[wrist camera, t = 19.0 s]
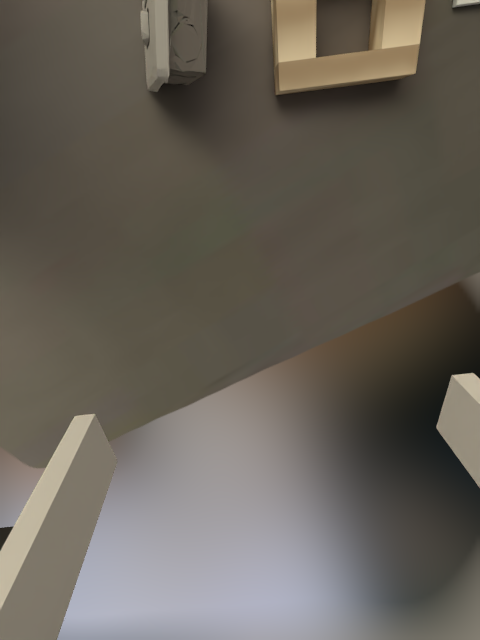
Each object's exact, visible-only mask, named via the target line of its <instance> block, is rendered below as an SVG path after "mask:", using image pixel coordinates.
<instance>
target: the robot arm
mask: <svg viewBox="0 0 480 640" xmlns="http://www.w3.org/2000/svg"><path fill="white" fill-rule="evenodd" d="M436 428H437V429H438V431H439V432H440V433H441V435H442V436H443V438H444V439H445V440H446V442H447V443H448V445H449V446H450V447H451V449H452V450H453V451H454V453H455V454H456V455H457V457H458V458H459V460H460V461H461V462H462V464H463V465H464V467H465V468H466V469H467V471H468V472H469V473H470V475H471V476H472V478H473V479H474V480H475V482H476V483H477V484H478V486H479V487H480V379H479V378H478V377H477V376H476V375H475V374H474V373H469V374H460V375H452V377H451V380H450V383H449V387H448V390H447V394H446V397H445V400H444V404H443V407H442V410H441V414H440V417H439V420H438V424H437V427H436ZM116 464H117V459H116V457H115V454H114V453H113V450H112V448H111V446H110V444H109V442H108V440H107V438H106V436H105V434H104V432H103V429H102V427H101V425H100V423H99V421H98V419H97V417H96V415H95V414H89V415H80V416H74V418H73V420H72V422H71V424H70V426H69V427H68V429H67V431H66V433H65V435H64V436H63V438H62V440H61V442H60V444H59V445H58V447H57V449H56V451H55V453H54V455H53V456H52V458H51V460H50V462H49V464H48V465H47V467H46V469H45V471H44V473H43V475H42V476H41V478H40V480H39V482H38V484H37V485H36V487H35V489H34V491H33V493H32V494H31V496H30V498H29V500H28V502H27V503H26V505H25V507H24V509H23V511H22V512H21V515H20V516H19V518H18V520H17V522H16V523H15V525H14V527H5V528H0V640H57V637H58V634H59V632H60V629H61V626H62V623H63V620H64V617H65V614H66V611H67V608H68V605H69V602H70V599H71V596H72V593H73V590H74V587H75V585H76V581H77V578H78V576H79V573H80V570H81V567H82V564H83V561H84V558H85V555H86V552H87V549H88V546H89V543H90V540H91V537H92V535H93V532H94V529H95V526H96V523H97V520H98V517H99V514H100V511H101V508H102V505H103V502H104V500H105V497H106V494H107V491H108V488H109V485H110V482H111V479H112V476H113V473H114V470H115V467H116Z"/></svg>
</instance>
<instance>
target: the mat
mask: <svg viewBox="0 0 480 640" xmlns="http://www.w3.org/2000/svg"><path fill="white" fill-rule="evenodd" d="M475 4H480V0H453V5H452V7H460V6H467V5H475Z"/></svg>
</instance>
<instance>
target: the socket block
mask: <svg viewBox="0 0 480 640" xmlns="http://www.w3.org/2000/svg"><path fill="white" fill-rule="evenodd" d="M425 1H426V0H372V8H371V22H370V35H369V49H368V51H363V52H355V53H348V54H340V55H332V56H325V57H317V58H316V0H271V12H272V35H273V58H274V81H275V95H282V94H290V93H298V92H305V91H313V90H321V89H329V88H336V87H344V86H352V85H359V84H367V83H375V82H383V81H390V80H398V79H402V78H404V77H407V76H410V75H413V74H416V66H417V59H418V52H419V44H420V37H421V30H422V22H423V15H424V8H425Z"/></svg>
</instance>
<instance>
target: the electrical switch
mask: <svg viewBox="0 0 480 640" xmlns="http://www.w3.org/2000/svg"><path fill="white" fill-rule="evenodd" d="M142 5H143V11H141V33H142V39H143V41H144V43H145V62H146V81H147V87H148V90H149V91H154V92H158V90H159V88H160V87H161V85H162V84H163V83H168V84H183V85H189V84H191V83H192V82H194V81H195V80H197V79H198V78H200V77H201V76H203V75H205V74H203V73H206V46H207V5H208V0H142ZM187 17H188V18H187ZM188 24H191V25H192V26H193V27H192V26H190V25H188ZM201 44H202V46H201ZM200 47H201V49H200ZM193 71H195V72H193ZM198 72H203V73H198Z"/></svg>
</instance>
